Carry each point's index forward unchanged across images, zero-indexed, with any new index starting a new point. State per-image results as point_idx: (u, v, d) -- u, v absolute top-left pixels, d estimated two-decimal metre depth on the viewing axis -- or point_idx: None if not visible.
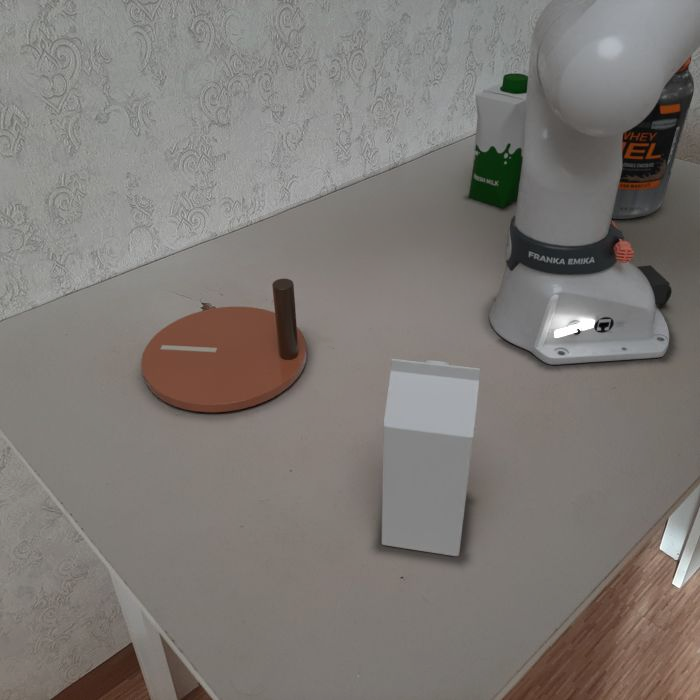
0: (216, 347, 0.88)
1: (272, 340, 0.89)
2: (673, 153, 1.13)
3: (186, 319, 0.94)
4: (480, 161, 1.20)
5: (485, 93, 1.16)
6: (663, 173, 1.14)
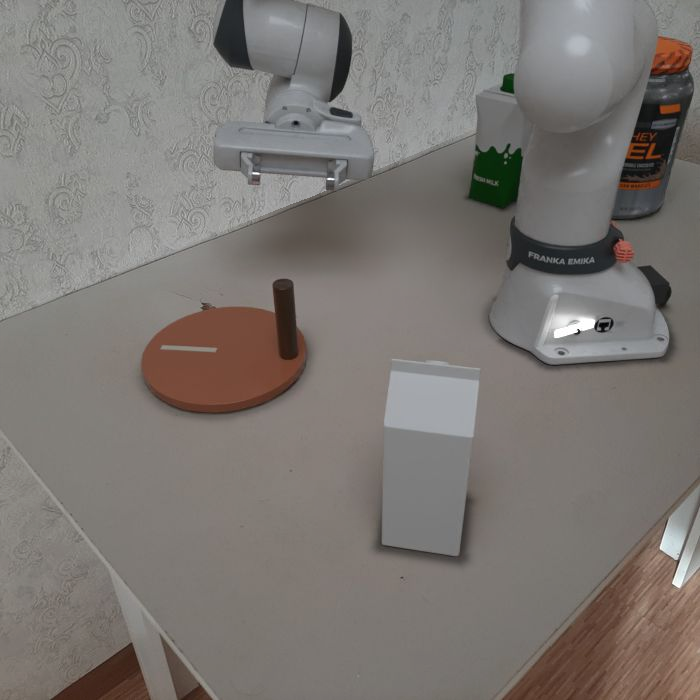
0: (216, 347, 0.88)
1: (272, 340, 0.89)
2: (673, 153, 1.13)
3: (186, 319, 0.94)
4: (480, 161, 1.20)
5: (485, 93, 1.16)
6: (663, 173, 1.14)
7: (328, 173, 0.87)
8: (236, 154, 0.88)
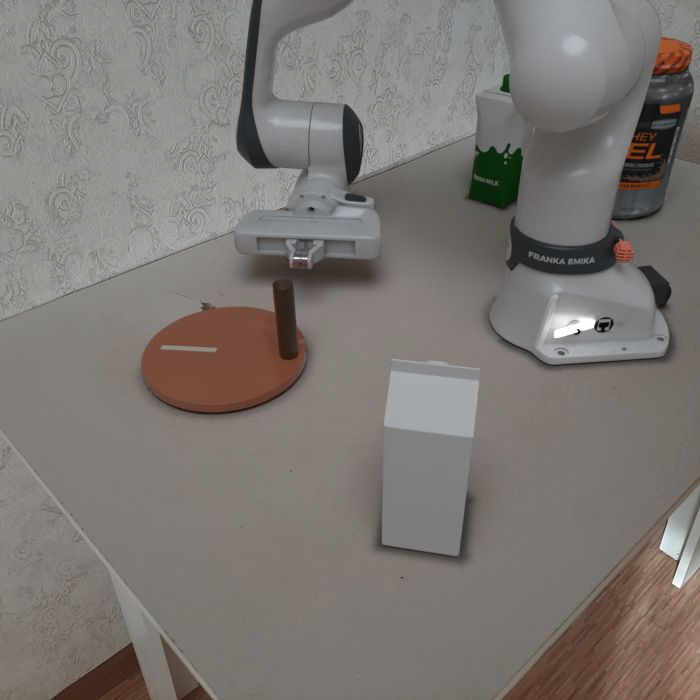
0: (216, 347, 0.88)
1: (272, 340, 0.89)
2: (673, 153, 1.13)
3: (186, 319, 0.94)
4: (480, 161, 1.20)
5: (485, 93, 1.16)
6: (663, 173, 1.14)
7: (302, 253, 0.93)
8: (253, 240, 0.96)
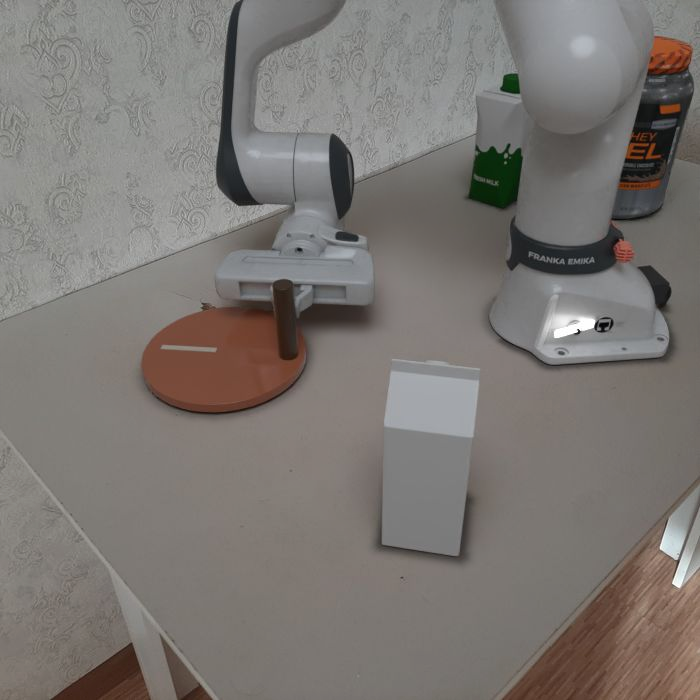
0: (216, 347, 0.88)
1: (272, 340, 0.89)
2: (673, 153, 1.13)
3: (186, 318, 0.94)
4: (480, 161, 1.20)
5: (485, 93, 1.16)
6: (663, 173, 1.14)
7: None
8: (235, 284, 0.89)
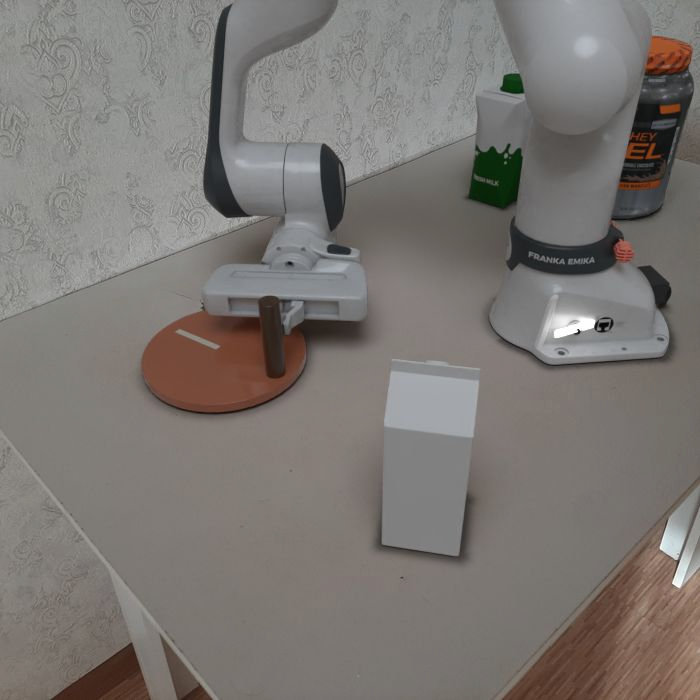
0: (220, 345, 0.89)
1: None
2: (673, 153, 1.13)
3: None
4: (480, 161, 1.20)
5: (485, 93, 1.16)
6: (663, 173, 1.14)
7: None
8: (224, 300, 0.86)
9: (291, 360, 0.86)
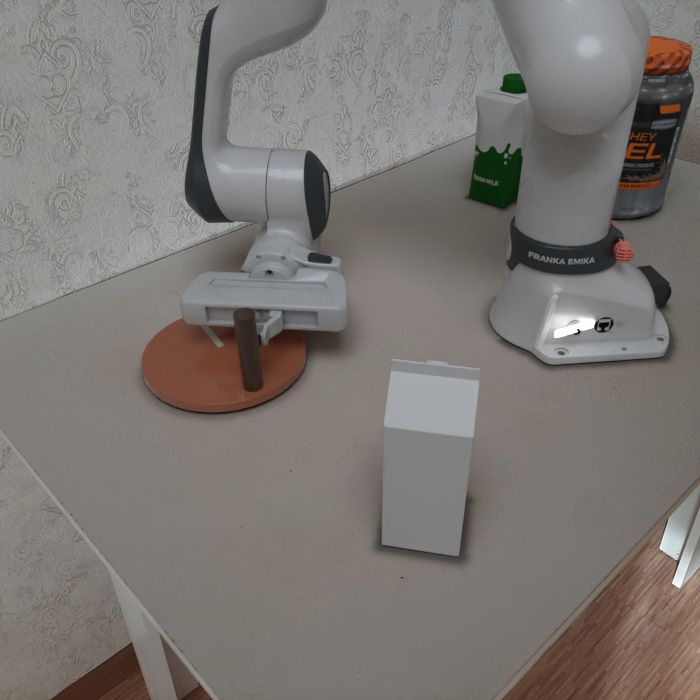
0: (225, 344, 0.89)
1: (263, 366, 0.85)
2: (673, 153, 1.13)
3: None
4: (480, 161, 1.20)
5: (485, 93, 1.16)
6: (663, 173, 1.14)
7: None
8: (201, 310, 0.84)
9: (275, 378, 0.83)
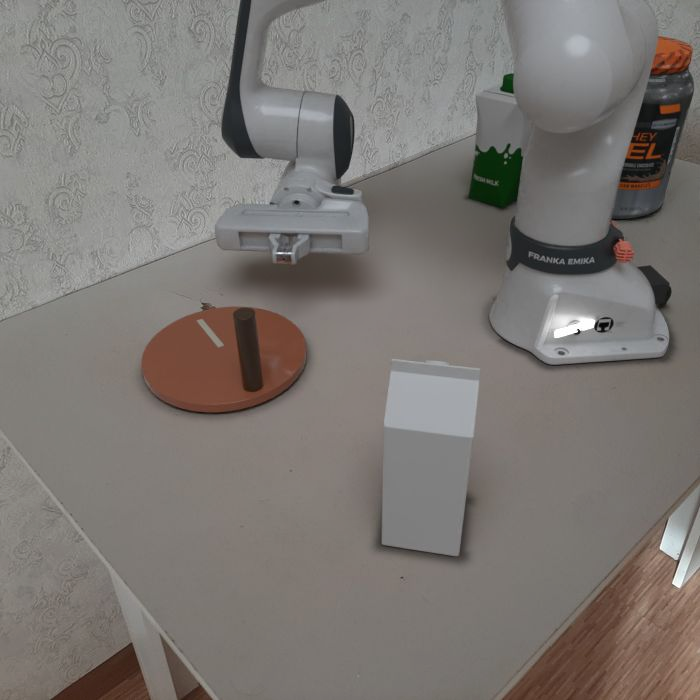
0: (225, 344, 0.89)
1: (263, 366, 0.85)
2: (673, 153, 1.13)
3: None
4: (480, 161, 1.20)
5: (485, 93, 1.16)
6: (663, 173, 1.14)
7: (286, 247, 0.89)
8: (235, 235, 0.92)
9: (275, 378, 0.83)
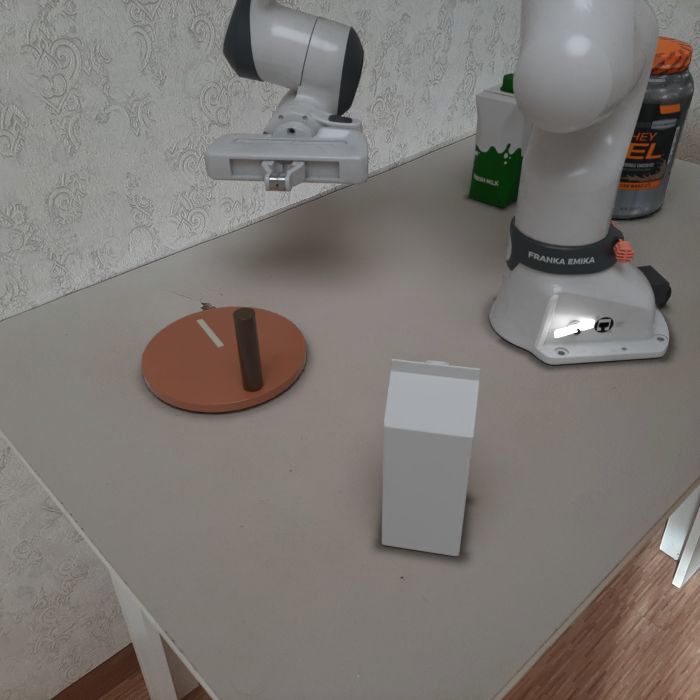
0: (225, 344, 0.89)
1: (263, 366, 0.85)
2: (673, 153, 1.13)
3: None
4: (480, 161, 1.20)
5: (485, 93, 1.16)
6: (663, 173, 1.14)
7: (280, 173, 0.83)
8: (226, 162, 0.87)
9: (275, 378, 0.83)
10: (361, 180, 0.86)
